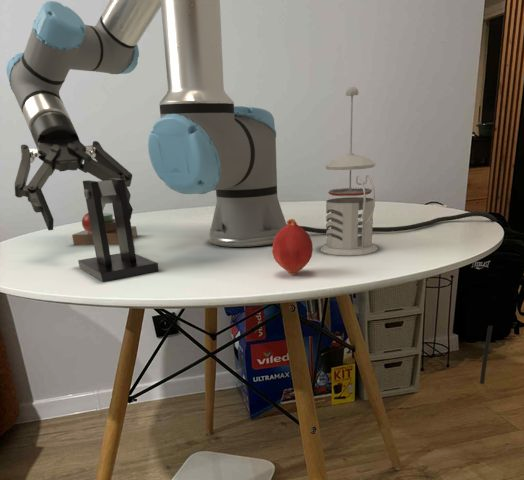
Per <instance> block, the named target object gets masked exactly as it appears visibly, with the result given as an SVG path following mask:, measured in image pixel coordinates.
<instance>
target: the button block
mask: <svg viewBox="0 0 524 480" xmlns="http://www.w3.org/2000/svg"><path fill="white" fill-rule="evenodd" d="M105 227H106V233H107V239H108V245H109V246H119V242H118V236H117V230H116V223H115V218H113V222H109V223H105ZM131 229H132V235H133V239H134V238H137V237H138V230H137V226H136V225H131ZM71 236H72V242H73V246H94V241H93V236H92V234H91V233H89V232H87V231H86V230H85V229H84V230H81V231H79V232H75V233H73V234H71Z"/></svg>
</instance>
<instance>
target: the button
mask: <svg viewBox="0 0 524 480" xmlns="http://www.w3.org/2000/svg"><path fill="white" fill-rule="evenodd" d="M103 215H104V221H105V223H109V222H113V219H114V214H113V213H111V212H109V213H108V212H107V213H103Z"/></svg>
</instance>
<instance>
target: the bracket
mask: <svg viewBox="0 0 524 480" xmlns="http://www.w3.org/2000/svg"><path fill="white" fill-rule="evenodd" d="M108 180H112V183H113V186H114V189H115V192H116V197H115V199H114V201H113V203H111V204H112V212H113V218H114V219H115V223H116V230H117V236H118V242H119V245H118V248H119V253H114V254H111V250H110V245H108V239H107V233H106V227H105V221H104V215H103V214H104V209H102V204H101V198H100V192H99V186H98V182H97V181H96V180H88V179H87V180H82V185H83V195H84V198H85V202H86V207H87V213H88V214H89V219H90V225H91V230H92V236H93V241H94V245H93V246H94V252H95V256H94V257H90V258H83V259H78V261H77V262H78V267H79V269H80V270H82V271H84V272H86V273H87V274H89V275H90V276H92V277H94V278H95V279H97V280H99V281H100V282H102V283H104V282H109V281H114V280H119V279H124V278H130V277H135V276H140V275H146V274H150V273H155V272H159V271H160V270H159V264H158V262H156V261H153V260H151V259H149V258H146V257H144V256H141V255H139V254H137V253H136V250H135V242H134V238H133V235H132V229H131V226H132V224H131V223H132V222H131V219H130V215H129V209H128V202H127V195H126V189H125V182H124V179H118V178H110V179H108Z"/></svg>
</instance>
